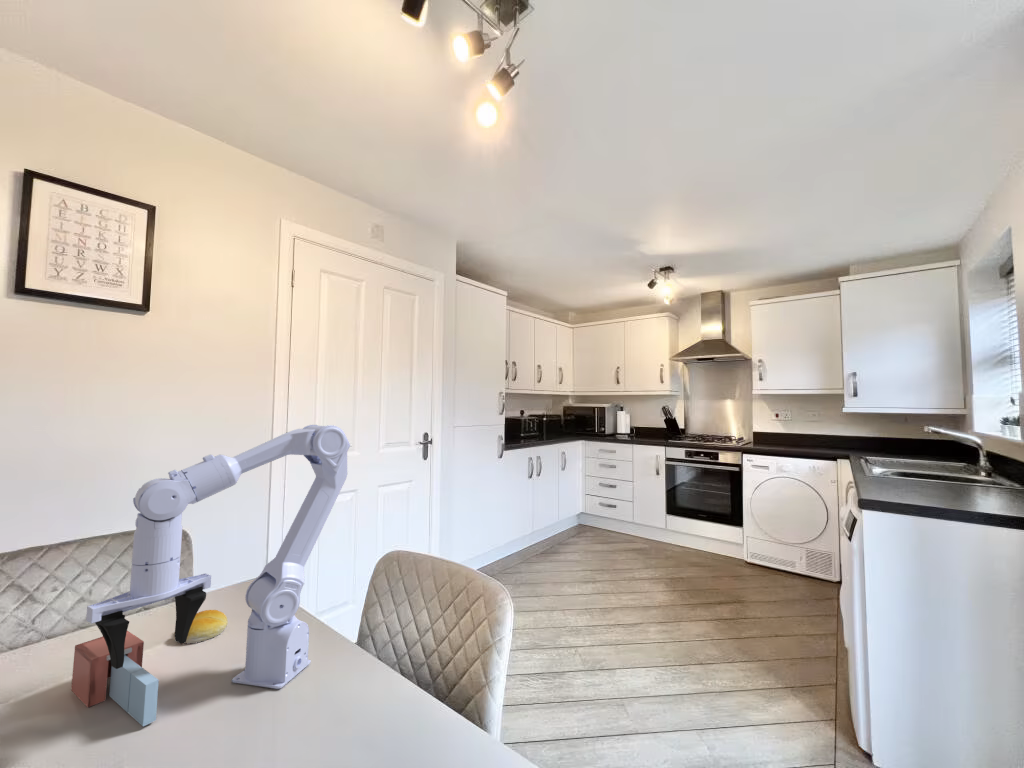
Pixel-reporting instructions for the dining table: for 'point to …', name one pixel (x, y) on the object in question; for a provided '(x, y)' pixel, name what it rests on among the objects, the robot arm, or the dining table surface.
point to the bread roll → (206, 626)
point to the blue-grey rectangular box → (135, 691)
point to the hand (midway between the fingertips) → (150, 653)
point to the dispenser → (99, 667)
